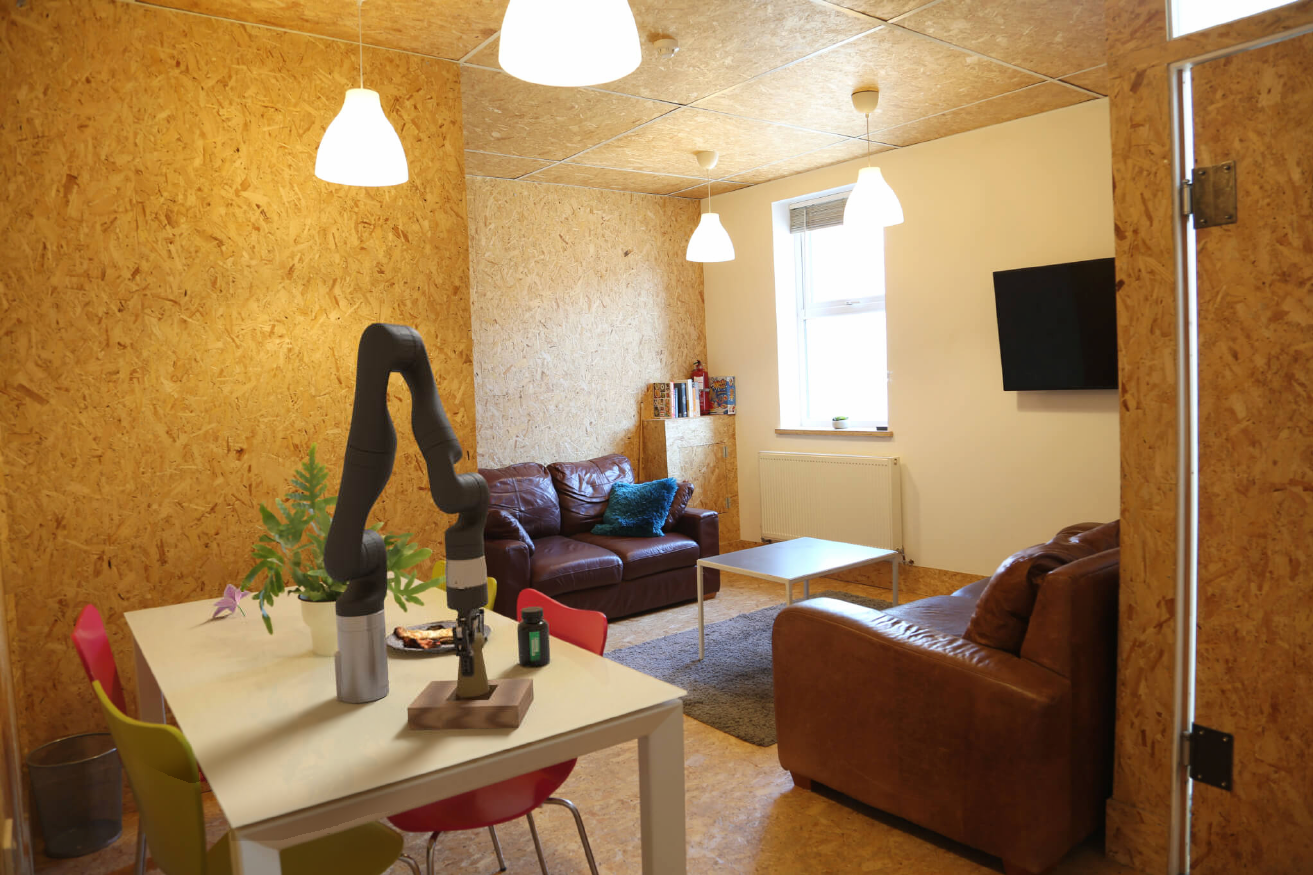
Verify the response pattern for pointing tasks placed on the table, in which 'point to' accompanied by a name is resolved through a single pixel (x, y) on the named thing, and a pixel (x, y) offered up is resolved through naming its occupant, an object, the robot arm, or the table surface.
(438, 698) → the holder block
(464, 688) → the cork
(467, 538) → the robot arm
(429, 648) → the food plate
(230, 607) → the lily
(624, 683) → the table surface
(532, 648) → the supplement bottle
